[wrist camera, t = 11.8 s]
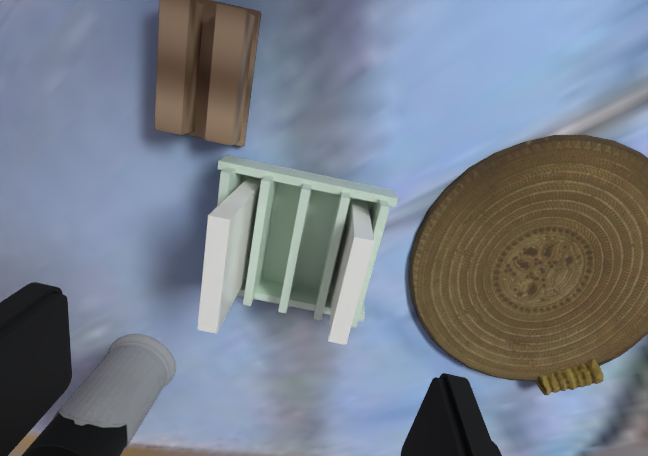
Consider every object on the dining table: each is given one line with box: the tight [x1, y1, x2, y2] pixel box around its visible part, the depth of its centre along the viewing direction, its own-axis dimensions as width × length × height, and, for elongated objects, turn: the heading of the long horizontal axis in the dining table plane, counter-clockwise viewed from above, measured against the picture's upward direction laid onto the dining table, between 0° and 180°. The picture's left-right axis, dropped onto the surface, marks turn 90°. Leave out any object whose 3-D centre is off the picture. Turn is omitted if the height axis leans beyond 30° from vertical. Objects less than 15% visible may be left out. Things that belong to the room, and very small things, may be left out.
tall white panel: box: [198, 178, 261, 333], centre depth 34 cm, size 10×2×12 cm, turn 169°
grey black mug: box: [22, 334, 176, 456], centre depth 43 cm, size 9×14×15 cm, turn 164°
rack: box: [217, 155, 398, 345], centre depth 36 cm, size 14×17×11 cm
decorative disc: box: [409, 135, 648, 395], centre depth 41 cm, size 29×3×30 cm
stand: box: [155, 0, 261, 147], centre depth 34 cm, size 12×8×4 cm, turn 168°
